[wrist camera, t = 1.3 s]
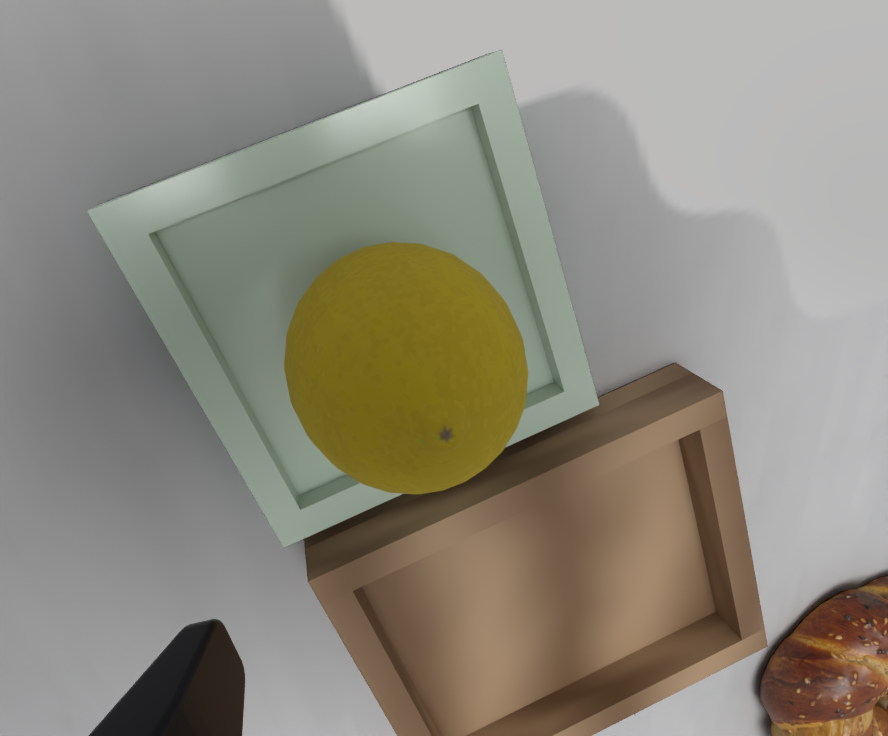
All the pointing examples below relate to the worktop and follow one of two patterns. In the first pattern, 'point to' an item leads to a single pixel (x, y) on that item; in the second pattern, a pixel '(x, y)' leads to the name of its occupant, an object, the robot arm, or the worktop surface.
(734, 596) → the tray
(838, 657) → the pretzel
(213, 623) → the robot arm
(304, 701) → the worktop surface
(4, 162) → the worktop surface
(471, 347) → the lemon
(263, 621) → the worktop surface
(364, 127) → the dish
